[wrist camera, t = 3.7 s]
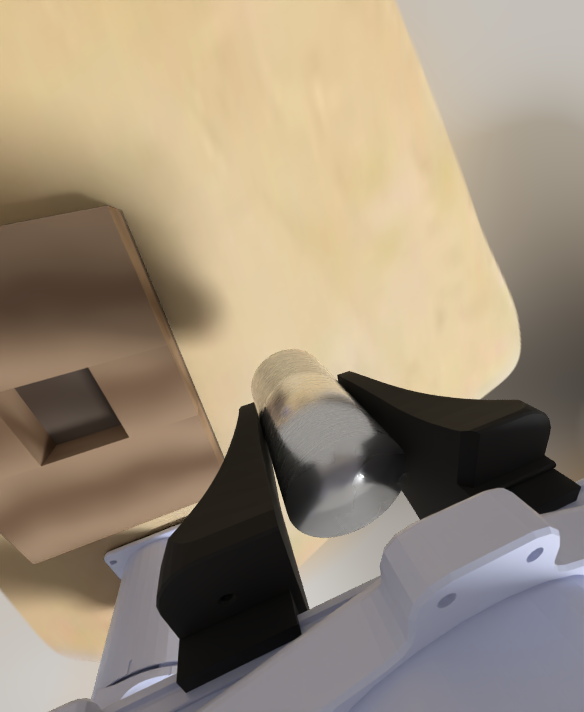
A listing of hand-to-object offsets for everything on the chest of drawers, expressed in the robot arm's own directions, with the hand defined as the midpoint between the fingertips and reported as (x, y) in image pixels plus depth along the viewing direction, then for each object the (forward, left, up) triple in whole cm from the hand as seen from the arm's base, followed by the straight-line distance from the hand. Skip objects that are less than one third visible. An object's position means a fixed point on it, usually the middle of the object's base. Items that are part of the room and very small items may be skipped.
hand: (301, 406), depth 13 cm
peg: (0, 0, -2) cm, 2 cm away
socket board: (0, +13, -9) cm, 16 cm away
